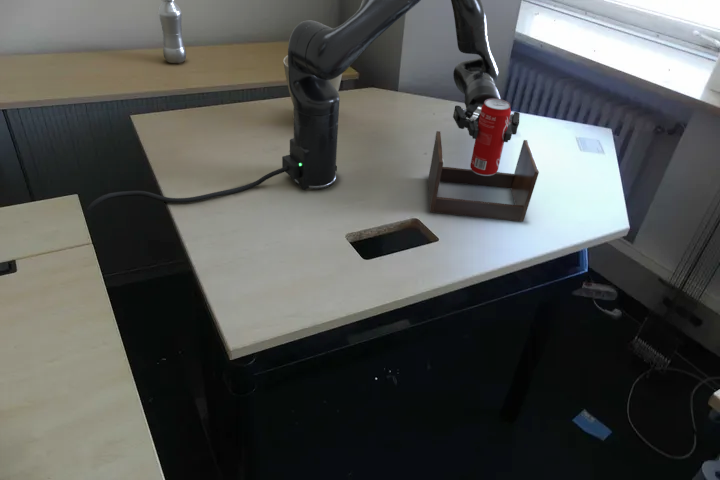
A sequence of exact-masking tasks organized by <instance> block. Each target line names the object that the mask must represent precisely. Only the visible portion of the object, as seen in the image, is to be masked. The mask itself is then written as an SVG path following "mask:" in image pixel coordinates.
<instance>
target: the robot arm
mask: <svg viewBox="0 0 720 480" xmlns="http://www.w3.org/2000/svg"><path fill="white" fill-rule="evenodd" d="M421 1H422V0H361V2H360V3H361V4H360V6H359V8H358V9H357V10H356V12H355V13H354V14H353V15H352V16H350V17H349V18H348V19H347V20H345V21H344V22H343V23H342V24H340V25H338V26H336V27H331V26H328V25H325V24H324V23H321V22H319V21H317V20H316V21H315V20H311V19H307V20H303V21H301V22H300V23H298V24H297V25H296V26H295V27H294V28H293V30H292V32H291V34H290V36H289V40H288V45H287V55H288V69H289V86H290V91H291V94H292V96H293V100H294V106H293V138H290V139H289V154H287V155H283V156H282V157H281V165H282V167H280V168H278V169H276V170H273V171H271V172H269V173H266V174H264V175H262V176H261V177H260V178H259V179H257V180H255V181H253V182H250V183H247V184H245V185H242V186H238V187H233V188H230V189H224V190H220V191H215V192H209V193H205V194H202V195H197V196H191V197H168V196H162V195H159V194H157V193H154V192H150V191H145V190H127V191H117V192H116V191H115V192H114V191H113V192H109V193H106V194H103V195H100V196H99V197H97V198H96V199H94V200H93V201H92V202H91V203H90V204H89V205H88V206H87V208H86V211H88V212H89V211H93V210H94V209H95V208H96V207H97V206H98V205H99V204H101V203H103V202H104V201H106V200H110V199H114V198H120V197H133V196H136V197H137V196H138V197H139V196H140V197H146V198H150V199H153V200H157V201H159V202H160V201H161V202H164V203H170V204H187V203H194V202H199V201H204V200H208V199H213V198H217V197H222V196H227V195H233V194H236V193H240V192H244V191H247V190H249V189H250V190H251V189H252V188H255V187H257V186H259V185H261V184H262V183H264V182H265V181H267V180H269V179H270V178H273V177H275V176H277V175H280V174H283V173H286V174H287V175H288V176H289V178H290V179H291V180H292V181H293V182H294V183H295V184H296V185H297V186H299V187H300V188H301V189H302V190H303V191H306V190H323V189H327V188H330V187H332V185H334V184H335V183H336V180H337V175H336V174H337V173H338V166H337V152H338V133H339V118H340V117H339V116H340V115H339V113H340V94H339V91H338V92H337V90H336V89H335V88H334V86H333V85H332V83H331V82H330V80H331V79H334V78H336V77H338V76H339V75H341V74H342V75H343V74H344V73H345V71H347V70H348V69H349V68H350V67H351V66H352V64H354V62H356V61H357V60H358V58H359V57H360V56H361V55H362V54H363V53H364V52H365V51H366V50H367V49H368V47H369V46H370V45H372V44H373V43H374V41H376V40H377V39H378V38H379V37H380V36H382V34H383V33H385V31H386V30H388V29H389V28H390V27H392V25H393V24H394V23H396V22H397V21H398V20H400V19H401V18H402V17H403V16H404V15H406V14H407V13H408V12H409V11H410V10H412V9H413V8H414V7H416V5H418V4H419V3H420V2H421ZM450 3H451V6H452V13H453V18H454V27H455V35H456V44H457V48H458V51H459V52H460V53H463V54H468V55H476V56H479V57H478V58H473V59H466V60H463V61H460V62H458V63H457V64H456V65H455V67H454V69H453V74H452V76H453V80H454V84H455V86H456V87H457V90H459V91H460V93H462V94H463V96H464V106H465V108H462V106H461V105H454V108H453V114H452V118H453V120H454V122H455V124H456V126H457V128H458V129H461V130H464V129H465V128H466V129H467V132H468V135H469V137H472V139H473V140H475V139H476V138H477V134H478V123H479V117H480V112H481V107H482V106H483V104H484V102H485V100H487V99H492V98H495V99H501V96H500V93H499V91H498V88H497V87H496V82H497V81H498V78H499V68H498V65H497V63H496V61H495V58H494V56H493V54H492V50H491V48H490V44H489V39H488V37H489V36H488V27H487V16H486V11H485V7H484V5H483V2H482V0H450ZM520 114H521V113H520V112H519V111H514V112H513V113H511V114H510V119H509V123H508V128H507V130H506V133H505V137H504V143H508V142H509V141H511V140H512V136H513V135H517V132H518V129H519V125H520V117H521V116H520Z"/></svg>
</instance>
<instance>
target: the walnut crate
mask: <svg viewBox="0 0 720 480" xmlns="http://www.w3.org/2000/svg"><path fill="white" fill-rule="evenodd" d="M515 165H516V166H515V169H514V172H513V173H511V172H510V173H509V172H499V171H497V172H496V173H495V174H494V175H491V176H482V175H478V174H476V173H474V172H473V171H472V170H471V168H470V169H469V168H461V167H450V166H444V154H443V145H442V135H441V131H439V130H437V131H436V132H435V139H434V145H433V149H432V157H431V161H430V166H429V174H428V177H427V178H428V197H429V198H428V199H429V212H430V213H437V214H445V215H455V216H464V217H465V216H466V217H473V218H484V219H494V220H495V219H496V220H504V221H513V222H525V218H526V214H527V211H528V208H529V205H530V202H531V199H532V196H533V192H534V189H535V186H536V183H537V180H538V177H539V174H540V171H539V169H538V168H539V167H538V166H537V163H536V159H535V158H534V155H533V151H532V149H531V146H530V144H529V142H528V139H523V141H522V145H521V148H520V152H519V154H518V159H517V162H516V164H515ZM440 182H442V183H451V184H452V183H453V184H461V185H471V186H478V187H479V186H480V187H491V188H501V189H510V190H511V194H512V195H511V196H512V198H513V203H514V204H513V203H512V204H510V203H502V202H493V201H491V202H490V201H481V200H474V199H473V200H471V199H462V198H454V197H452V198H451V197H442V196H438V193H439V188H440Z"/></svg>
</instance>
